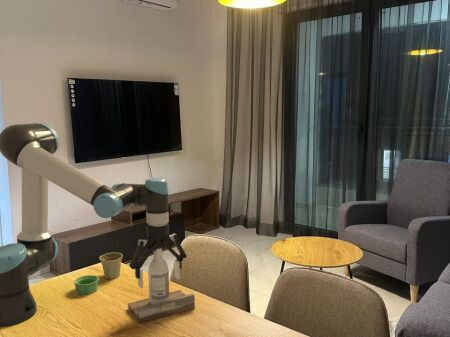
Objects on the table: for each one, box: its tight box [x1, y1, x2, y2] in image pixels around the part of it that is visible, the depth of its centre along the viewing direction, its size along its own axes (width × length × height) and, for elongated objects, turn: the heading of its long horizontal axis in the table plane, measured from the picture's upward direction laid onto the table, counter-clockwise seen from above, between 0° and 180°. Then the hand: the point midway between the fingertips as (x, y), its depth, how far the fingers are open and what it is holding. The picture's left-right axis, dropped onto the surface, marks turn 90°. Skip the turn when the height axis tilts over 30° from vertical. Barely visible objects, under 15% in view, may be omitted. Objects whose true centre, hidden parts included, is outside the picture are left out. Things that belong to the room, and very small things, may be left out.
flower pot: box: [98, 252, 123, 280], centre depth 166 cm, size 9×9×9 cm
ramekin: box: [73, 274, 100, 296], centre depth 153 cm, size 9×9×4 cm
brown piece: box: [127, 289, 196, 325], centre depth 138 cm, size 12×20×5 cm, turn 121°
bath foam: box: [147, 248, 170, 305], centre depth 138 cm, size 7×7×20 cm
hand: (159, 282), depth 138 cm, fingers open, 13 cm apart
